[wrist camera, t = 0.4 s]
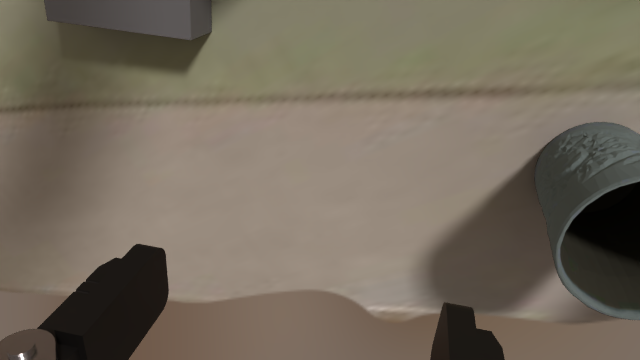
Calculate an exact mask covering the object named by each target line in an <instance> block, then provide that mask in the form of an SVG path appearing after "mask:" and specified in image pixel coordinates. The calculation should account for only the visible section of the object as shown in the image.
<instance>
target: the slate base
mask: <svg viewBox="0 0 640 360" xmlns="http://www.w3.org/2000/svg"><path fill="white" fill-rule="evenodd" d="M44 3H45V9H46V15H47V20H48V21H56V22H63V23H70V24H77V25H85V26H92V27H99V28H106V29H114V30H121V31H128V32H135V33H143V34H150V35H157V36H164V37H172V38H179V39H186V40H193V39H195V38H198V37H200V36H203V35H205V34H208V33H210V32H212V17H211V0H44Z"/></svg>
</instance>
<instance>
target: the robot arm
mask: <svg viewBox="0 0 640 360" xmlns="http://www.w3.org/2000/svg"><path fill="white" fill-rule="evenodd" d="M168 291H169V290H168V277H167V265H166V254H165V251H164V249H162V248H158V247H153V246H147V245H142V244H136V245H134V246H133V247H132V248H131V249H130V250H129V252H128V253H127V254H126V255H125V256H124V257H123V258H122V259H120V258H114V259H112V260H110V261H109V262H107V263H105V264H103V265H101V266H99V267H98V268H97V269H96V270H95V271H94V272H93V273H92V274H91V275H90V276H89V277H88V278H87V279H86V282H83V283H82V284H81V285H80V286H79V287H78V288H77V289H76V292H73V293H72V294H71V295H70V296H69V297H68V298H67V299H66V300H65V301H64V302H63V303H62V304H61V305H60V306H59V307H58V308H57V309H56V310H55V311H54V312H53V313H52V314H51V315H50V316H49V317H48V318H47V319H46V320H45V321H44V322H43V323H42V324H41V325H40V326H39V327H38V328H37V329H28V330H23V331H19V332H16V333H14V334H11V335H9V336H7V337H5V338H4V339H2V340H1V341H0V360H128V359H129V358H130V356H131V355H132V353H133V352H134V351H135V349H136V348H137V346H138V345H139V344H140V342H141V341H142V339H143V338H144V337H145V335H146V334H147V332H148V331H149V329H150V328H151V326H152V325H153V324H154V322H155V321H156V320H157V318H158V317H159V315H160V314H161V312H162V311H163V309H164V307H165V305H166V302H167V298H168ZM431 360H505V359H504V354H503V349H502V347H501V345H500V344H499V342H498V341H497V339H496V338H495V336H494V335H493V334H492V332H491V331H487V330H482V329H477V328H476V324H475V316H474V310H473V308H472V307H466V306H461V305H456V304H450V303H444V304H443V307H442V310H441V314H440V318H439V322H438V326H437V330H436V333H435V337H434V341H433V345H432V351H431Z"/></svg>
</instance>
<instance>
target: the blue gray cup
mask: <svg viewBox="0 0 640 360" xmlns="http://www.w3.org/2000/svg"><path fill="white" fill-rule="evenodd" d="M534 179H535V186H536V190H537V194H538V199H539V202H540V205H541V207H542V211H543V214H544V216H545V219H546V224H547V233H548V236H549V239H550V245H551V250H552V254H553V259H554V263H555V267H556V270H557V273H558V276H559V278H560V280H561V282H562V284H563V285H564V286H565V287H566V289H567V290H568V291H569V292H570V293H571V294H572V295H573V296H575V297H576V298H577V299H579V300H580V301H581V302H582V303H584V304H585V305H586V306H588V307H589V308H591V309H594V310H596V311H598V312H600V313H602V314H605V315H609V316H612V317H616V318H622V319H629V320H640V135H639V134H638V133H636V132H634V131H633V130H631V129H629V128H627V127H625V126H622V125H619V124H614V123H607V122H594V123H586V124H582V125H579V126H576V127H573V128H571V129H568V130H567V131H565V132H563V133H561V134H560V135H558V136H557V137H555V138H554V139H553V140H552V141H551V142H550V143H549V144H548V145H547V146H546V148H545V149H544V150H543V152H542V153H541V155H540V157H539V159H538V161H537V164H536V168H535V177H534Z"/></svg>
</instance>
